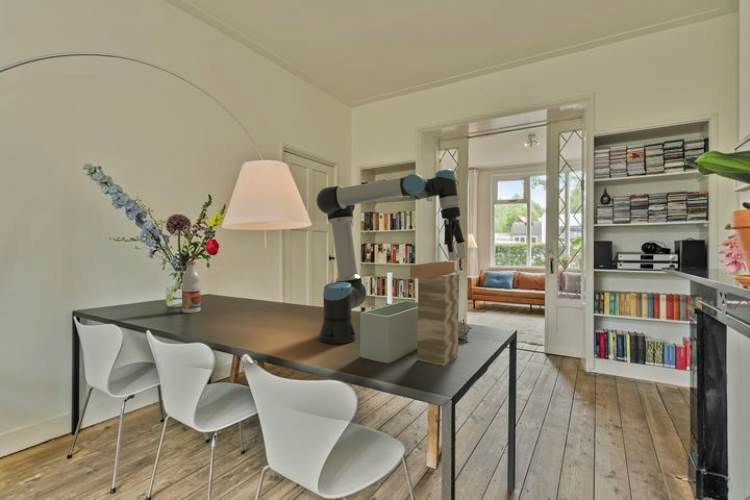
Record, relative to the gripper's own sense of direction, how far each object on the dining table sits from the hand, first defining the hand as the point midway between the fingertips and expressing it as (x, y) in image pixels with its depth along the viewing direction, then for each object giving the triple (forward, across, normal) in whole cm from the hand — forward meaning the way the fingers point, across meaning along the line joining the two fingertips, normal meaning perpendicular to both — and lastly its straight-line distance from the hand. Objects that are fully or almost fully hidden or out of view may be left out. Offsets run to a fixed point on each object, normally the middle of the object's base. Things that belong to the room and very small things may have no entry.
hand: (457, 259), depth 148 cm
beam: (+3, -27, +2) cm, 27 cm away
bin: (+30, -21, +22) cm, 43 cm away
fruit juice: (+11, -14, +152) cm, 153 cm away
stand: (+33, -24, +6) cm, 41 cm away
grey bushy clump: (+34, +5, +5) cm, 35 cm away
